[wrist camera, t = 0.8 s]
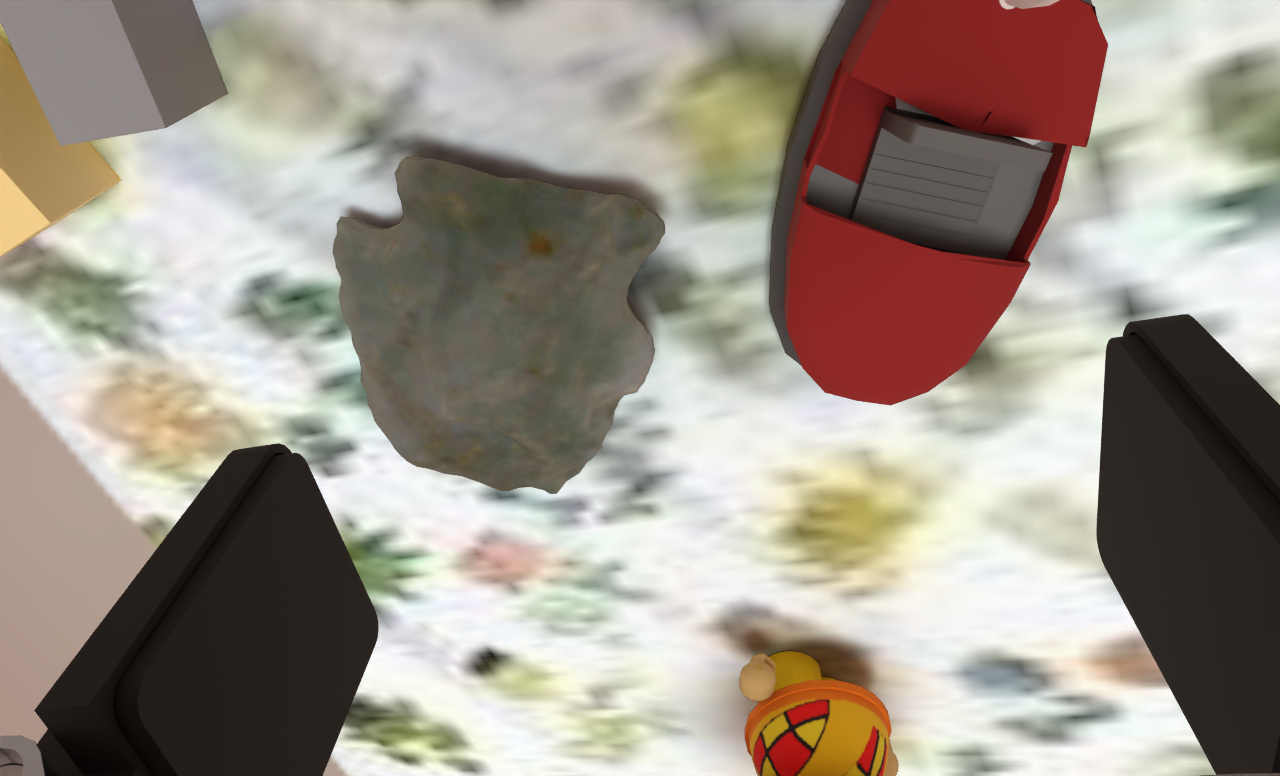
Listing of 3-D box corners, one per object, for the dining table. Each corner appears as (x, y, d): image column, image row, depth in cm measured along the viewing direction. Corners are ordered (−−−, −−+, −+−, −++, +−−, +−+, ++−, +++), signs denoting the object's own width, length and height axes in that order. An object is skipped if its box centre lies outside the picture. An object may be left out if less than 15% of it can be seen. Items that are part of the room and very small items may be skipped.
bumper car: (731, 344, 41) (738, 483, 32) (875, -188, 31) (942, -195, 22) (951, 387, 41) (1016, 536, 33) (1167, -124, 31) (1344, -105, 22)
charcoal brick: (35, -119, 33) (-65, -112, 29) (139, -142, 32) (53, -137, 28) (135, 109, 37) (60, 146, 33) (229, 92, 36) (166, 127, 32)
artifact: (358, 109, 37) (337, 420, 45) (319, 137, 34) (303, 468, 41) (695, 195, 37) (616, 489, 45) (690, 231, 34) (606, 542, 42)
